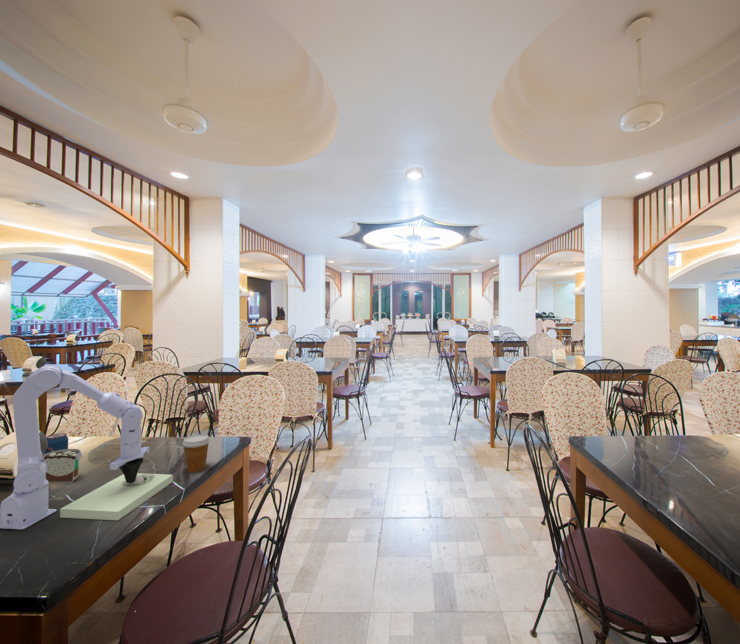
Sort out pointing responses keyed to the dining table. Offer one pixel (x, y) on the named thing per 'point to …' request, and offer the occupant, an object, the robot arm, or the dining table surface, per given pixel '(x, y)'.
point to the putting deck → (116, 498)
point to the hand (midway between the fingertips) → (130, 482)
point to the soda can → (56, 442)
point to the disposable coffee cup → (196, 452)
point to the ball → (138, 480)
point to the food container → (62, 465)
